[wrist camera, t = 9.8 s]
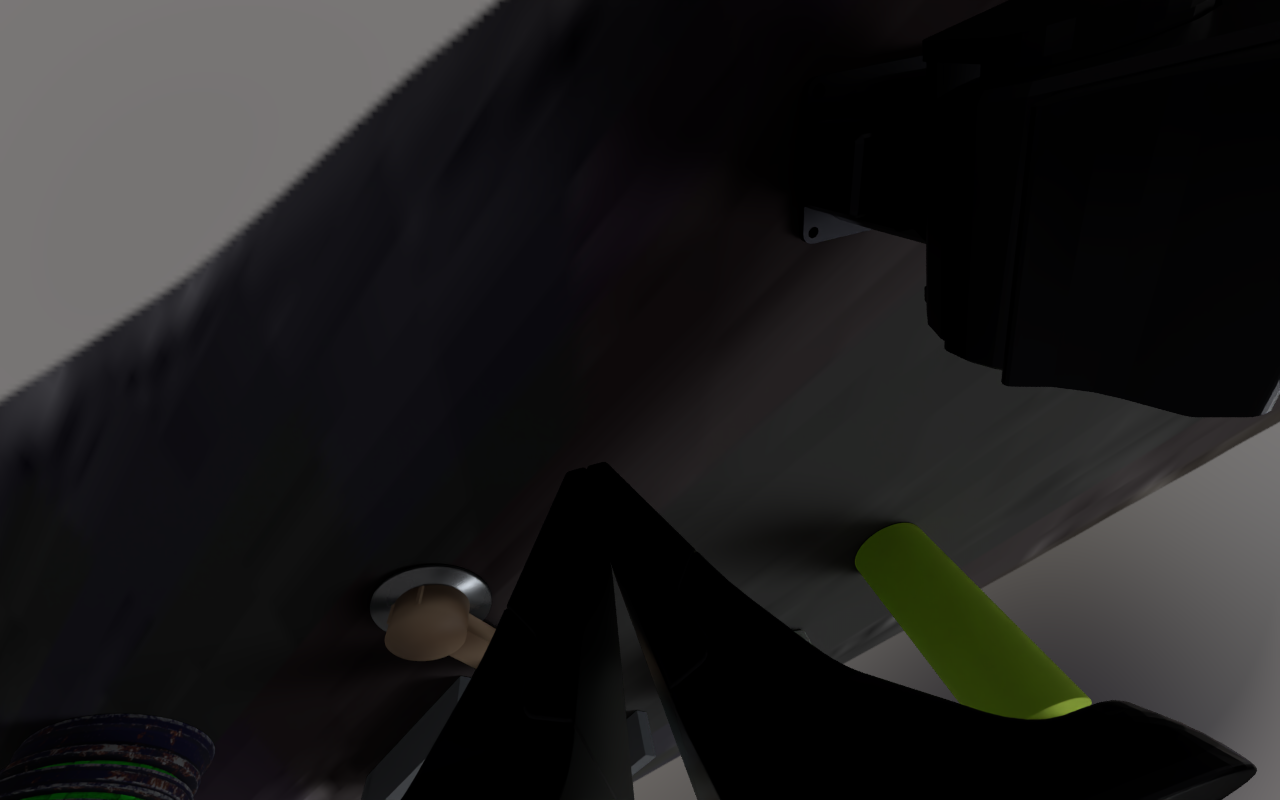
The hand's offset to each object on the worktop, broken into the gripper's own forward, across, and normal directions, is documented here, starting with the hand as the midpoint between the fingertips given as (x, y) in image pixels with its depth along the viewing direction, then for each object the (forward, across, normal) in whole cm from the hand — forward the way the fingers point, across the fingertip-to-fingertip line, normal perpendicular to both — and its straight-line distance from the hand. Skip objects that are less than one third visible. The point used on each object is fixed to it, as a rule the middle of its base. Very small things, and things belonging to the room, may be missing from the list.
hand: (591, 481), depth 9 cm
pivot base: (+13, +13, +17) cm, 25 cm away
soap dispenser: (+13, -20, +27) cm, 36 cm away
